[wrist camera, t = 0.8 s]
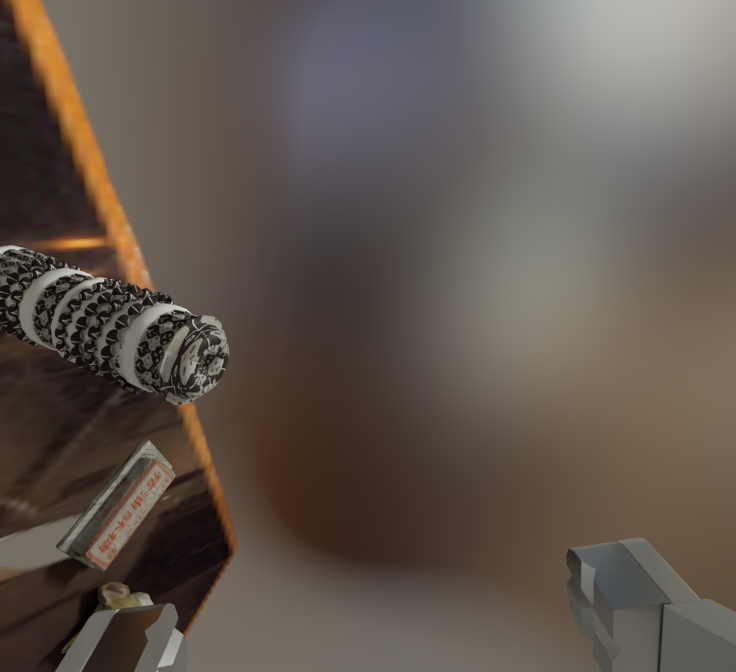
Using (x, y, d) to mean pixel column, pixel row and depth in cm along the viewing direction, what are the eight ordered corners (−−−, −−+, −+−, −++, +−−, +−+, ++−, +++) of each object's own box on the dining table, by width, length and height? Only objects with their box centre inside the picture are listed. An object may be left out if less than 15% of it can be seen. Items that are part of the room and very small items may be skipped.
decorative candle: (-65, 316, 42) (151, 414, 35) (-17, 225, 44) (201, 301, 36) (27, 339, 51) (215, 421, 44) (65, 262, 52) (254, 330, 45)
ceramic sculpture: (148, 664, 79) (86, 677, 66) (111, 639, 82) (45, 647, 69) (182, 597, 83) (130, 598, 70) (146, 576, 86) (89, 572, 73)
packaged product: (111, 579, 70) (77, 561, 62) (87, 565, 71) (51, 545, 64) (188, 473, 80) (167, 447, 73) (165, 463, 82) (143, 435, 74)
